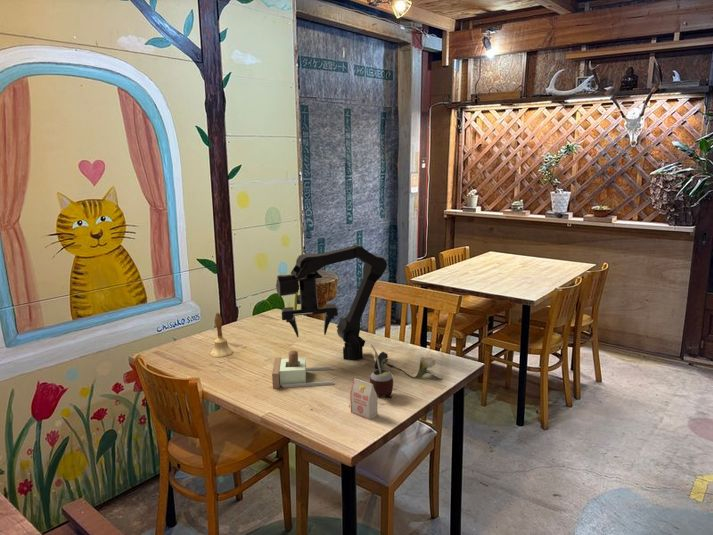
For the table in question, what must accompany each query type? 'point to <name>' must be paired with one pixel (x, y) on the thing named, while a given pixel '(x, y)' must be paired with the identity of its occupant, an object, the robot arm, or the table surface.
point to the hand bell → (220, 341)
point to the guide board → (277, 383)
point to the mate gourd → (382, 380)
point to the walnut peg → (293, 359)
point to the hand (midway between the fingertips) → (311, 335)
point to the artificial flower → (424, 365)
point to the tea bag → (363, 399)
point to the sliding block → (292, 372)
